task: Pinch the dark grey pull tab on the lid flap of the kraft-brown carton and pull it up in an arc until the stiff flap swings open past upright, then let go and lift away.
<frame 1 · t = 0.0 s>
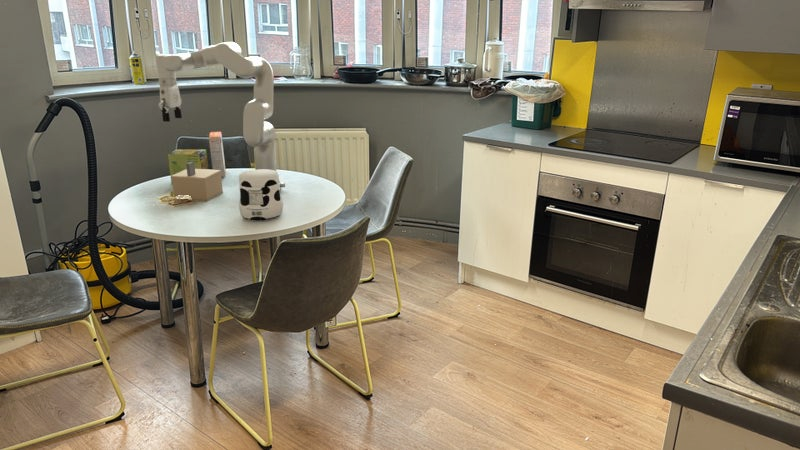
hand: (172, 119, 283), 31 cm above the table, tool pointing down, fingers open, 9 cm apart
lid flap: (195, 167, 270), point 13 cm above the table, hinge at 0.0°
cracker box: (219, 174, 311), on the table
protein box: (191, 183, 296), on the table
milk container: (262, 217, 246), on the table
carton: (199, 195, 275), on the table
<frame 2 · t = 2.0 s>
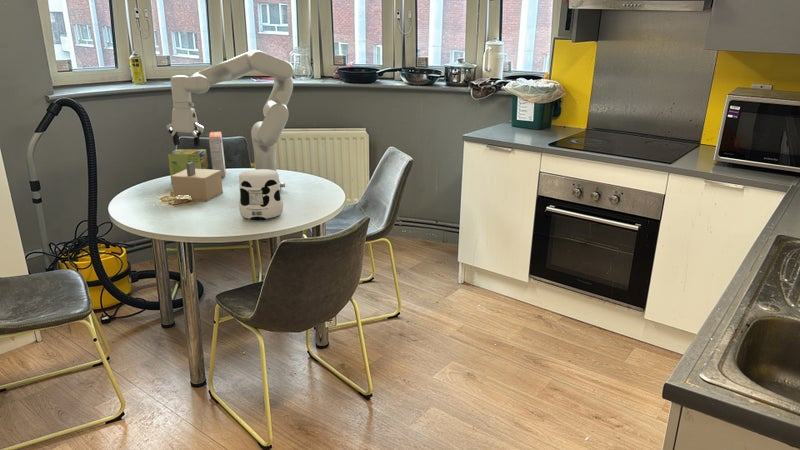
hand: (186, 145, 263), 24 cm above the table, tool pointing down, fingers open, 9 cm apart
nothing on the table moved.
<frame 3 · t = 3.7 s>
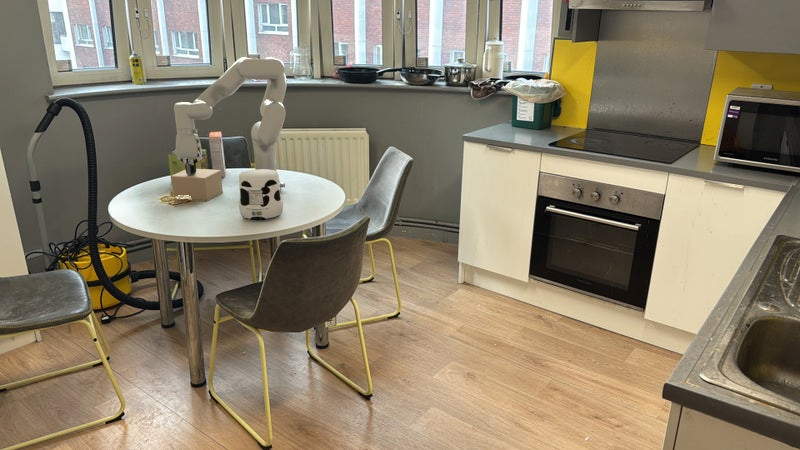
hand: (191, 173, 267), 12 cm above the table, tool pointing down, fingers closed
lid flap: (195, 167, 270), point 13 cm above the table, hinge at 0.0°, touching gripper
everything else where it was.
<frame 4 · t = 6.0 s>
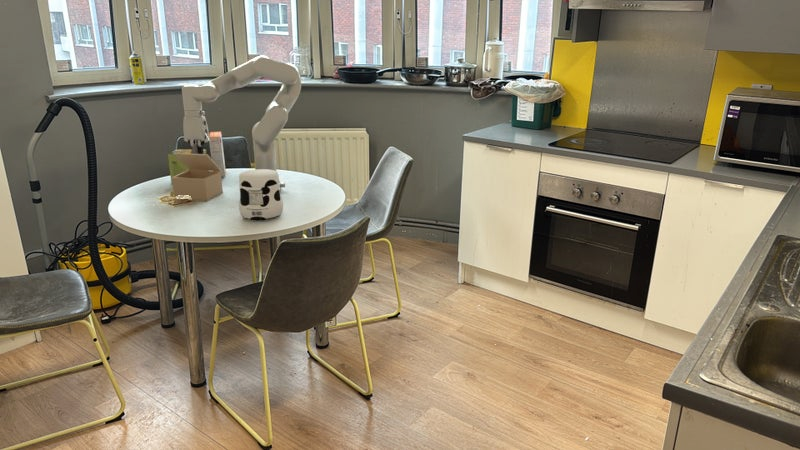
hand: (198, 154, 272), 18 cm above the table, tool pointing down, fingers closed on lid flap
lid flap: (199, 156, 273), point 17 cm above the table, hinge at 43.0°, touching gripper
everything else where it was.
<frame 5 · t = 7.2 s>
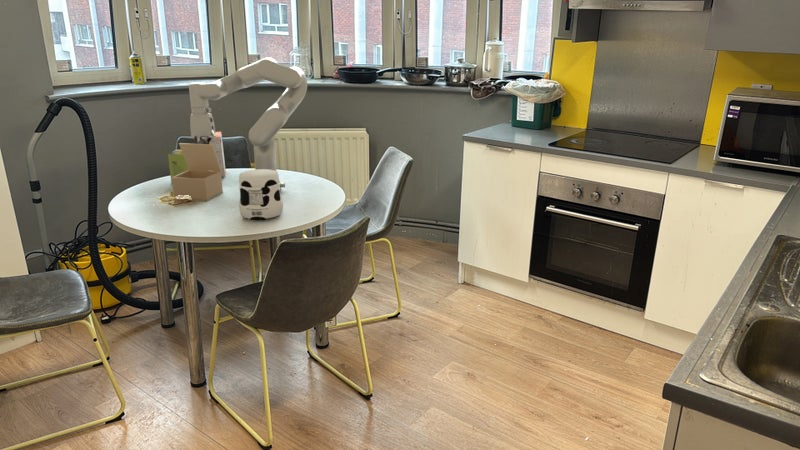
hand: (204, 151, 277), 19 cm above the table, tool pointing down, fingers closed on lid flap
lid flap: (203, 153, 275), point 18 cm above the table, hinge at 68.6°, touching gripper
everything else where it was.
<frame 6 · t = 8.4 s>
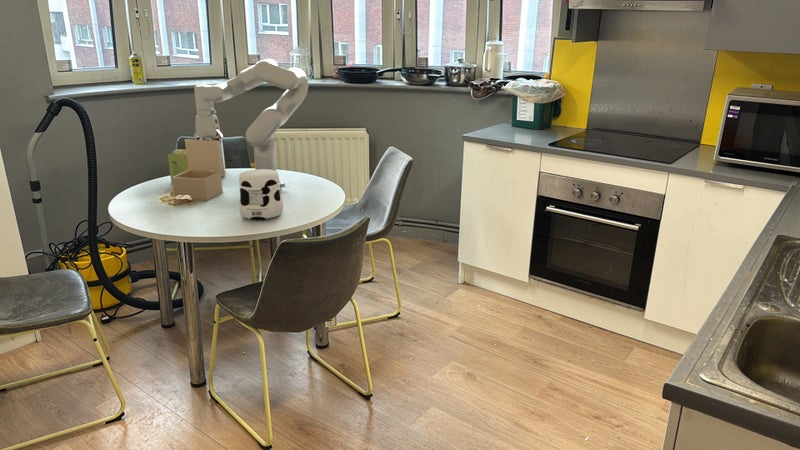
hand: (209, 151, 281), 17 cm above the table, tool pointing down, fingers open, 4 cm apart
lid flap: (206, 153, 278), point 17 cm above the table, hinge at 89.0°
everything else where it was.
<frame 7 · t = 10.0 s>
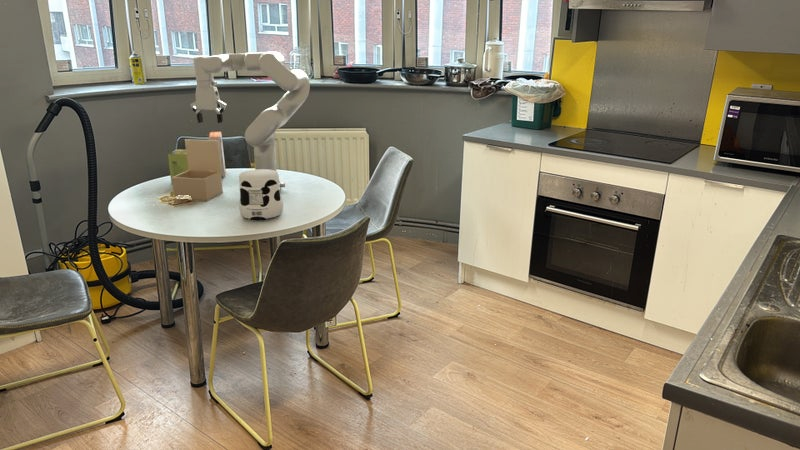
hand: (210, 122, 278), 31 cm above the table, tool pointing down, fingers open, 9 cm apart
nothing on the table moved.
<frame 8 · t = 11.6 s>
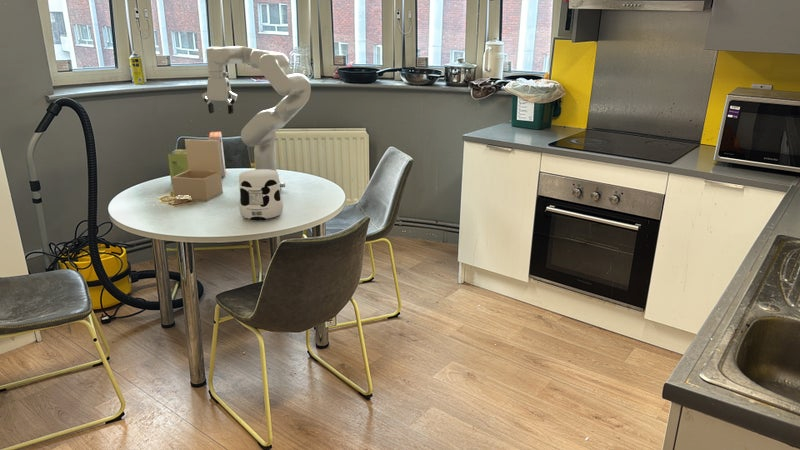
hand: (221, 113, 281), 34 cm above the table, tool pointing down, fingers open, 9 cm apart
nothing on the table moved.
at the end: lid flap at +89° (first picture: +0°); protein box moved 0.3 cm from its start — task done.
